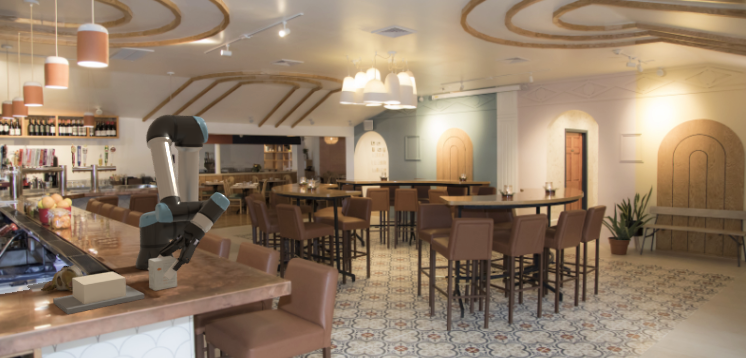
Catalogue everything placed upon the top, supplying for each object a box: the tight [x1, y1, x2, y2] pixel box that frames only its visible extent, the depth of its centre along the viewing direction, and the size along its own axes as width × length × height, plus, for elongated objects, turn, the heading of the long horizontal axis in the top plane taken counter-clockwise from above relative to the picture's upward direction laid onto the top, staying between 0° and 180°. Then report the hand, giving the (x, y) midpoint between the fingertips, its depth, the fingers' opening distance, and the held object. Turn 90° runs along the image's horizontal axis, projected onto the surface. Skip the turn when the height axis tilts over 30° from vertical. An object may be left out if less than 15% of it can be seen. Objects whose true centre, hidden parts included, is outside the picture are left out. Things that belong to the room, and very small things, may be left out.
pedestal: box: [52, 271, 145, 315], centre depth 154 cm, size 16×22×8 cm
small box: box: [148, 256, 178, 291], centre depth 170 cm, size 8×6×10 cm
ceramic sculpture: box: [40, 264, 84, 292], centre depth 168 cm, size 11×9×15 cm
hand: (158, 274), depth 169 cm, fingers open, 13 cm apart
